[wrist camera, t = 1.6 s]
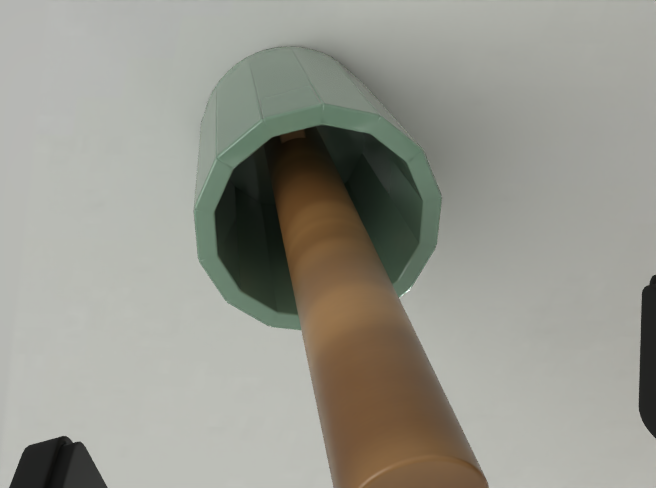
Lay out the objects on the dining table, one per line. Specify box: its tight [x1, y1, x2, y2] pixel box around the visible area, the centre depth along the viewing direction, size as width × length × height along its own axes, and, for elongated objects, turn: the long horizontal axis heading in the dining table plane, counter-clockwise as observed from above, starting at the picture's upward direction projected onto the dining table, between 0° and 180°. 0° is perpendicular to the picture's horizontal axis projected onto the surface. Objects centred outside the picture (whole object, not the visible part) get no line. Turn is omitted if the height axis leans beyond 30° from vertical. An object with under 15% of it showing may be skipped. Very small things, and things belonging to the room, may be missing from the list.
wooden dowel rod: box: [264, 126, 489, 488], centre depth 15 cm, size 3×2×16 cm, turn 11°
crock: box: [194, 46, 442, 330], centre depth 19 cm, size 6×6×8 cm
